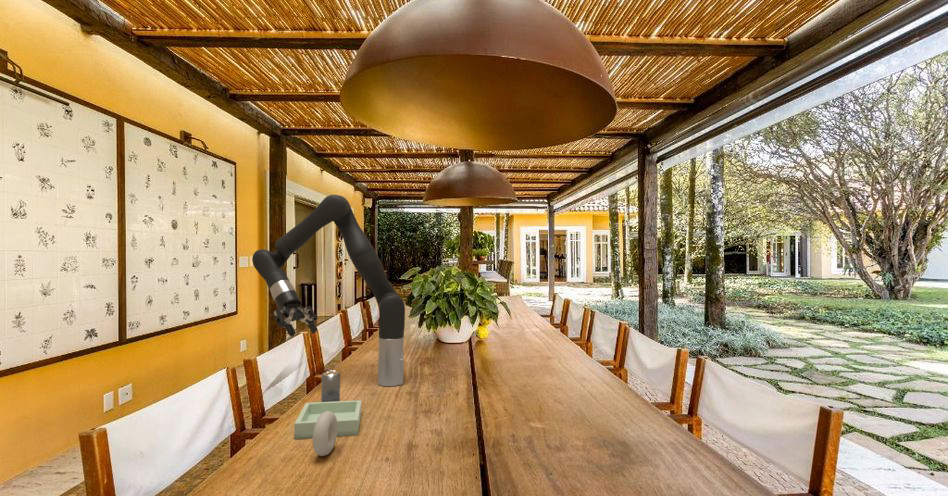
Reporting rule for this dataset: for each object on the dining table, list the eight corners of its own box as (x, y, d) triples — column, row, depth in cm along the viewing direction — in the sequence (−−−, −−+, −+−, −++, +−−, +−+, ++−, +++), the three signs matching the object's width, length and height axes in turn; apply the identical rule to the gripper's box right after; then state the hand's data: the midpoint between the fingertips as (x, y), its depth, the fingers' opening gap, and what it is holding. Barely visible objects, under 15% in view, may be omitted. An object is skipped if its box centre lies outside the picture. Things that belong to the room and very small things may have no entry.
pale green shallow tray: (361, 413, 132) (361, 400, 132) (357, 435, 116) (358, 419, 116) (305, 416, 129) (305, 402, 129) (294, 439, 113) (294, 423, 113)
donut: (325, 444, 110) (326, 405, 110) (339, 445, 110) (340, 405, 110) (309, 463, 100) (310, 419, 100) (324, 464, 100) (325, 420, 100)
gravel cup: (340, 401, 142) (341, 367, 142) (338, 407, 136) (339, 372, 137) (322, 402, 141) (323, 368, 141) (319, 408, 135) (320, 373, 135)
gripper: (272, 289, 145) (291, 329, 139) (307, 288, 157) (327, 324, 151) (261, 304, 147) (280, 343, 141) (297, 301, 159) (316, 337, 153)
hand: (304, 333), depth 146 cm, fingers open, 8 cm apart
